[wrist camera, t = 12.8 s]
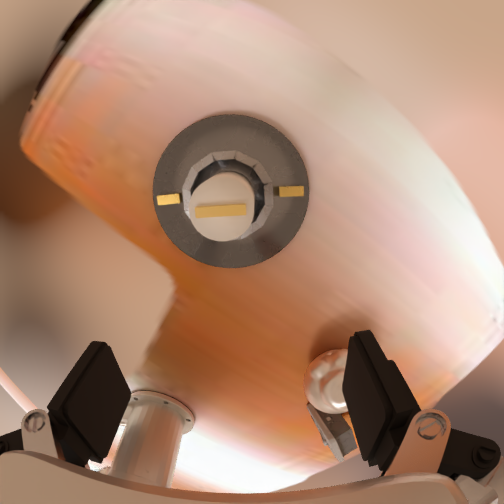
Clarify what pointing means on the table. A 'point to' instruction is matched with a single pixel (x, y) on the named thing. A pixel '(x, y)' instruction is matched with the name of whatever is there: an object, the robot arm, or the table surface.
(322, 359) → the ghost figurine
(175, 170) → the socket
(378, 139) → the table surface
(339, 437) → the electrical switch
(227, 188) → the white rounded cylinder
